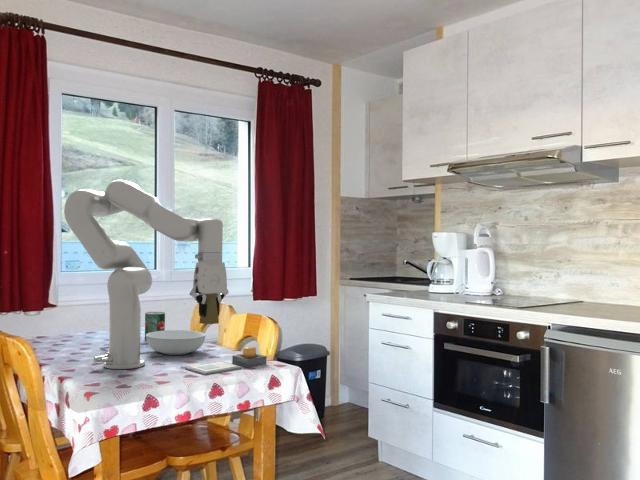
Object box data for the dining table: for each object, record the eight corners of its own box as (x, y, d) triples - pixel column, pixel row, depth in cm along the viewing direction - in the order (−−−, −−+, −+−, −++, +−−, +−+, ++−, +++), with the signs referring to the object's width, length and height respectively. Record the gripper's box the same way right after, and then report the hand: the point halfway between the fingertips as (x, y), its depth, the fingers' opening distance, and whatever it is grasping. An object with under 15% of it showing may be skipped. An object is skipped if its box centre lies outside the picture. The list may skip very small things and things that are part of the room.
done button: (248, 359, 192) (248, 349, 192) (240, 357, 195) (240, 347, 195) (258, 357, 195) (259, 348, 195) (250, 355, 198) (250, 346, 198)
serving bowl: (190, 360, 201) (191, 339, 201) (134, 356, 205) (135, 337, 205) (213, 349, 221) (214, 331, 221) (162, 346, 225) (162, 328, 225)
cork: (221, 321, 189) (221, 287, 189) (215, 324, 182) (216, 288, 183) (202, 321, 189) (203, 286, 189) (196, 323, 183) (197, 288, 183)
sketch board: (204, 375, 178) (204, 372, 178) (185, 369, 186) (185, 366, 186) (242, 368, 188) (242, 365, 188) (222, 363, 196) (222, 360, 196)
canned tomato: (143, 338, 242) (143, 312, 242) (162, 337, 245) (163, 311, 245) (146, 341, 235) (146, 314, 235) (166, 340, 238) (166, 313, 238)
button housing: (247, 367, 189) (247, 359, 189) (232, 363, 195) (232, 355, 195) (266, 364, 195) (266, 356, 195) (251, 360, 201) (251, 352, 201)
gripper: (193, 258, 177) (192, 319, 177) (238, 258, 189) (237, 315, 189) (180, 257, 183) (179, 316, 183) (225, 257, 194) (224, 312, 194)
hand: (209, 315), depth 186 cm, fingers closed on cork, 4 cm apart
